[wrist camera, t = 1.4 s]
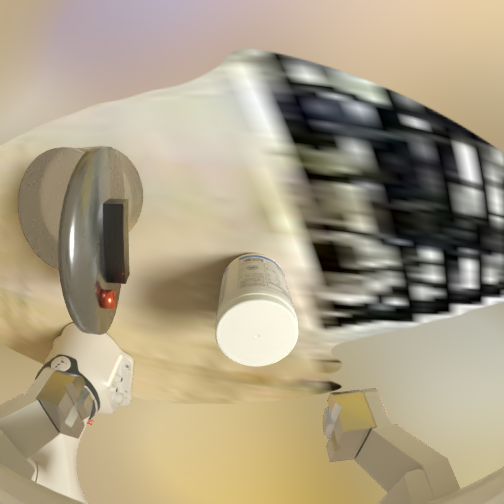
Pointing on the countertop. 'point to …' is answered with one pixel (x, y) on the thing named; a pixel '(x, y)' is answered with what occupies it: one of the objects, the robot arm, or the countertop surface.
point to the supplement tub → (255, 312)
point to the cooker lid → (94, 240)
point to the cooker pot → (62, 197)
